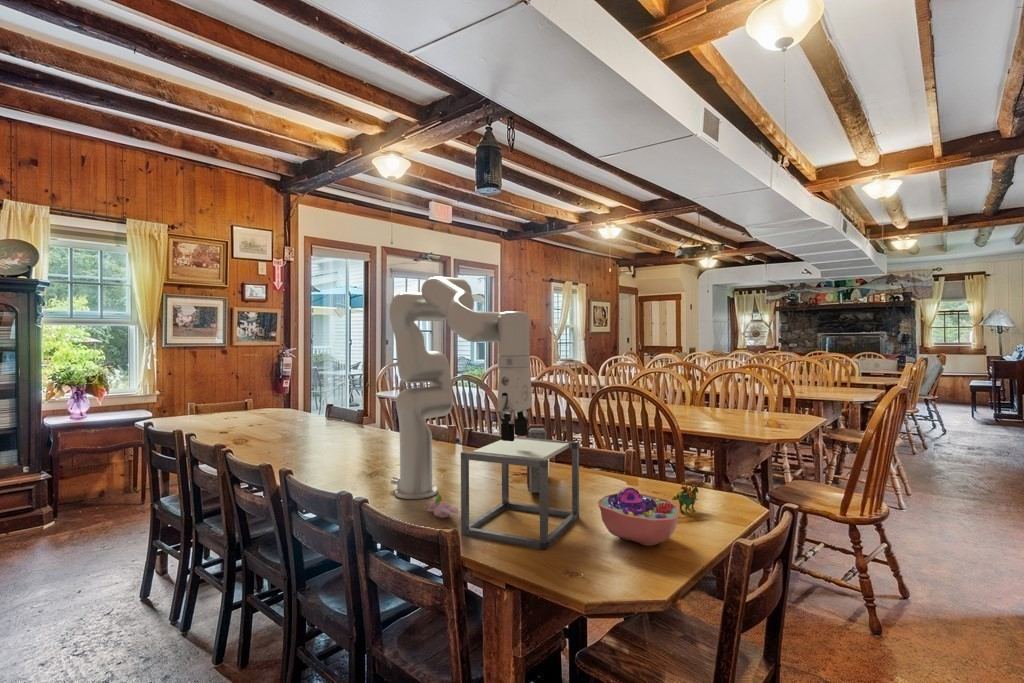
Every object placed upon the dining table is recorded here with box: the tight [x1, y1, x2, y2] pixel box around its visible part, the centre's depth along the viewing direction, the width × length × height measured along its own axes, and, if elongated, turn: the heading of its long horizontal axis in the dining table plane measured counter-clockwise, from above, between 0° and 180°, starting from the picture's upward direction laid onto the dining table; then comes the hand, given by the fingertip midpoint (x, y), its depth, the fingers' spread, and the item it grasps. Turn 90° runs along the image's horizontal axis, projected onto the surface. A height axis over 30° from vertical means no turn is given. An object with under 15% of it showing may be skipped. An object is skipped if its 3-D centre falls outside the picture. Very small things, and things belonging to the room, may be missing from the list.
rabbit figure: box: [425, 493, 459, 519], centre depth 137 cm, size 6×6×15 cm
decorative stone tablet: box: [526, 424, 549, 493], centre depth 166 cm, size 19×6×30 cm
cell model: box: [597, 487, 680, 547], centre depth 121 cm, size 17×20×11 cm
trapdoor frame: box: [460, 436, 580, 551], centre depth 130 cm, size 22×23×20 cm
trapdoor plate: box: [471, 438, 569, 461], centre depth 130 cm, size 18×19×1 cm
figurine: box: [671, 481, 699, 515], centre depth 139 cm, size 3×12×8 cm, turn 128°
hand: (514, 437), depth 126 cm, fingers open, 6 cm apart
